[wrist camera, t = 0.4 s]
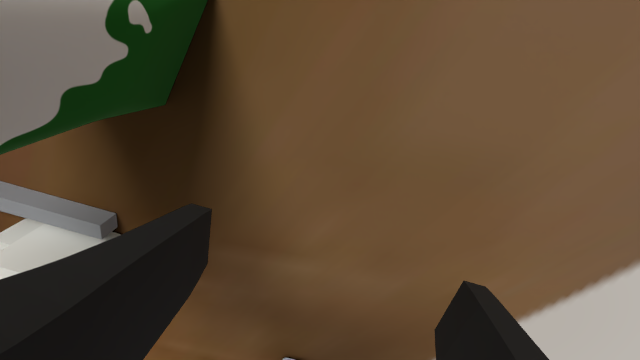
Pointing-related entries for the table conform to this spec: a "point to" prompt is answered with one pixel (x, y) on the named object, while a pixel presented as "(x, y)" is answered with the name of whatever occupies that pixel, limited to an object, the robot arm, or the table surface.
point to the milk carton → (86, 61)
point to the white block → (39, 245)
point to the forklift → (56, 211)
